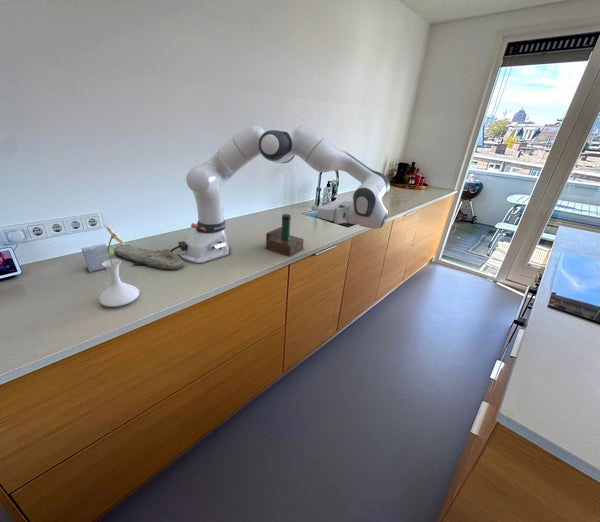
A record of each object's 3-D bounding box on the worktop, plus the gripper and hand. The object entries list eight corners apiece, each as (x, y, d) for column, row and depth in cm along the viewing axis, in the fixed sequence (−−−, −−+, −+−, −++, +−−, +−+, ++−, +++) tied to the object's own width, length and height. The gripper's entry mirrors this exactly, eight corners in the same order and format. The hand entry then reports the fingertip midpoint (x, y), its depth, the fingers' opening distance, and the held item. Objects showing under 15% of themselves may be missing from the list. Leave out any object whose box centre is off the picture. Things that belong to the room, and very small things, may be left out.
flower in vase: (136, 308, 91) (120, 234, 81) (95, 312, 88) (72, 236, 77) (144, 287, 103) (130, 220, 92) (107, 290, 99) (89, 221, 88)
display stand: (289, 256, 134) (290, 240, 131) (265, 248, 141) (266, 233, 137) (302, 248, 144) (304, 233, 140) (280, 241, 150) (280, 226, 146)
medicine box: (110, 262, 117) (105, 243, 113) (113, 266, 114) (108, 246, 110) (87, 268, 112) (81, 247, 108) (89, 272, 109) (83, 251, 105)
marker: (286, 241, 137) (287, 217, 132) (279, 239, 139) (280, 215, 134) (291, 238, 141) (292, 215, 135) (284, 236, 142) (285, 213, 137)
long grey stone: (128, 250, 131) (108, 259, 123) (125, 239, 129) (104, 248, 120) (190, 263, 120) (173, 274, 112) (188, 251, 118) (170, 262, 109)
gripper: (357, 199, 125) (329, 194, 131) (338, 209, 109) (306, 202, 115) (355, 213, 127) (327, 207, 133) (336, 225, 111) (305, 217, 118)
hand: (317, 205), depth 124 cm, fingers open, 8 cm apart
